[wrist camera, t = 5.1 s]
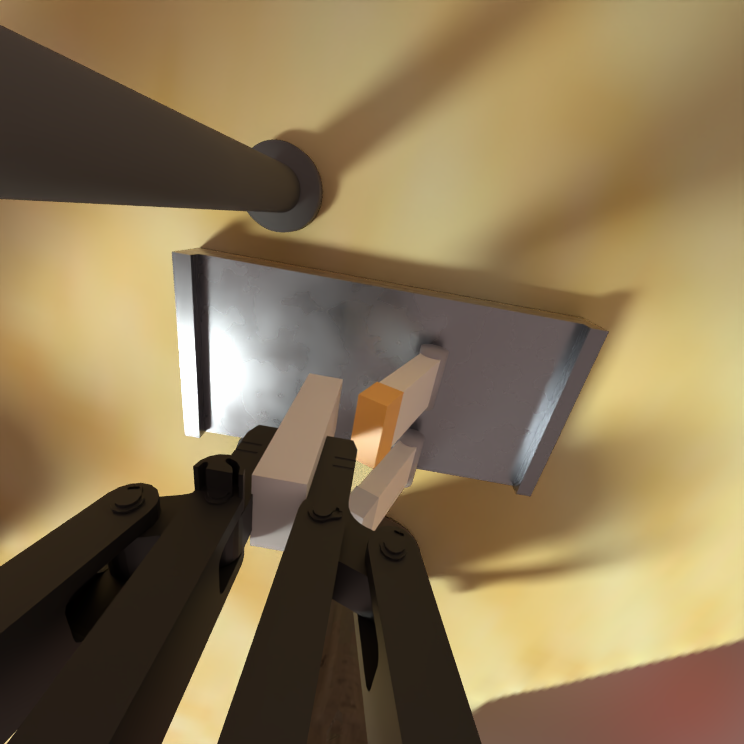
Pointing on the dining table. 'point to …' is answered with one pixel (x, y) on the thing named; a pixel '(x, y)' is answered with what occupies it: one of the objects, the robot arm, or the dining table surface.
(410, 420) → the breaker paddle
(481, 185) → the dining table surface
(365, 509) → the breaker paddle
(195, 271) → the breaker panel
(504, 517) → the dining table surface
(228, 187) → the disc
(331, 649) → the beer stein
